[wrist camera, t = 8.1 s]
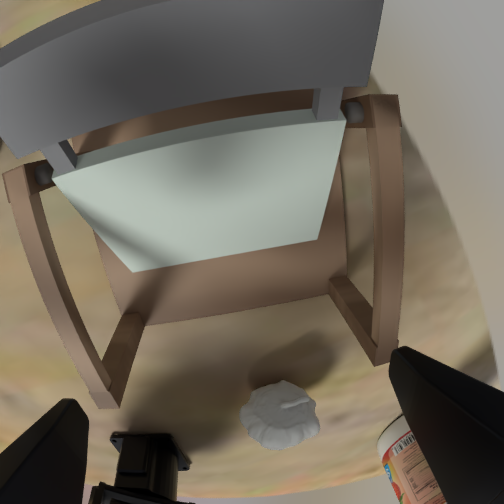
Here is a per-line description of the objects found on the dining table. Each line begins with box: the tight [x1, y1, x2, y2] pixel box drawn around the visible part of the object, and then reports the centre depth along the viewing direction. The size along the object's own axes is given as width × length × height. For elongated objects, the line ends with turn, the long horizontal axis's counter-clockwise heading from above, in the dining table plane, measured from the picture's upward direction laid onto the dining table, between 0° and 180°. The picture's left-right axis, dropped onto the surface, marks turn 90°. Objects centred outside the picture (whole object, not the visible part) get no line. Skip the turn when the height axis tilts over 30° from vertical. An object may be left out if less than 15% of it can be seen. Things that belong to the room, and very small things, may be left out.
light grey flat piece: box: [0, 0, 384, 273], centre depth 12 cm, size 14×11×2 cm
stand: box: [2, 89, 405, 409], centre depth 15 cm, size 13×15×8 cm
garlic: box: [239, 380, 320, 450], centre depth 21 cm, size 6×5×5 cm
